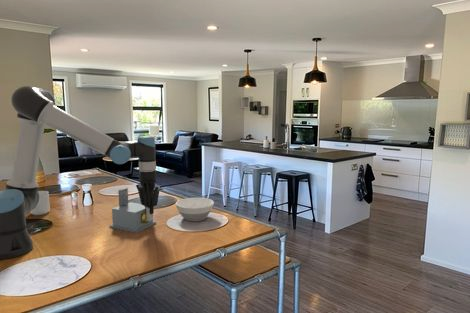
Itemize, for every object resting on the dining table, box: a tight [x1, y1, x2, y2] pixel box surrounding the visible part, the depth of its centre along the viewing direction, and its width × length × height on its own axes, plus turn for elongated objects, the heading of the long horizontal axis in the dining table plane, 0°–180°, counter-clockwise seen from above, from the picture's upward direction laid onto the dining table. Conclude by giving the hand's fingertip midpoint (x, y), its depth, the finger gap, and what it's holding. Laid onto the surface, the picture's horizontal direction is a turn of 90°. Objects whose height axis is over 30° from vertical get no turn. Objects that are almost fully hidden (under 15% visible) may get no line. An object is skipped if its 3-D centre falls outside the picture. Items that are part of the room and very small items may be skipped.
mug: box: [30, 190, 51, 216], centre depth 179 cm, size 12×9×11 cm
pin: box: [141, 212, 149, 223], centre depth 160 cm, size 18×5×5 cm, turn 64°
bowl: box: [175, 197, 215, 222], centre depth 171 cm, size 20×19×8 cm
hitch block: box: [109, 201, 157, 234], centre depth 160 cm, size 16×14×9 cm
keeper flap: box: [117, 187, 129, 207], centre depth 161 cm, size 8×5×1 cm
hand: (149, 220), depth 155 cm, fingers closed
